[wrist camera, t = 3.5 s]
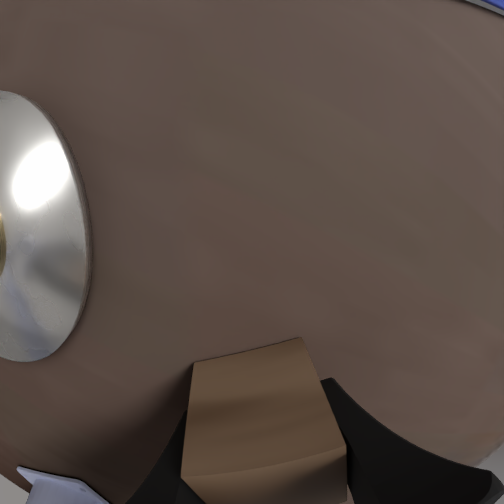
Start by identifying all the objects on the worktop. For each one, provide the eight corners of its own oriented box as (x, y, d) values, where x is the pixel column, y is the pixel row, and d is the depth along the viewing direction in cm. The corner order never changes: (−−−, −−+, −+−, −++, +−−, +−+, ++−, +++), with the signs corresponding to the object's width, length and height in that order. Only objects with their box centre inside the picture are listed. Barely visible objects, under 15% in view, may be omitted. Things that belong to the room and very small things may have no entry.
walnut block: (314, 407, 11) (347, 500, 7) (225, 428, 11) (229, 524, 7) (301, 337, 10) (346, 445, 5) (194, 362, 10) (180, 476, 5)
